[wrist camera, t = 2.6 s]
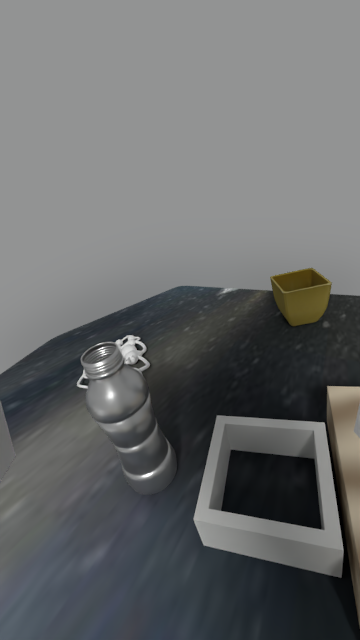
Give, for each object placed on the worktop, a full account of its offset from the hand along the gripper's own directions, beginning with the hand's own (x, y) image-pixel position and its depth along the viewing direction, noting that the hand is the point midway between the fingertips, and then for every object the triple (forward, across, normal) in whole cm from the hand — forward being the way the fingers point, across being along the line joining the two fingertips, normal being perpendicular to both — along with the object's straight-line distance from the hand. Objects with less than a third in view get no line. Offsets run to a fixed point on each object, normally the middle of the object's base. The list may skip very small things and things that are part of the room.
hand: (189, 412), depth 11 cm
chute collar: (+14, +10, -23) cm, 29 cm away
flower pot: (+46, +28, -14) cm, 56 cm away
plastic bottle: (+20, -3, -25) cm, 32 cm away
